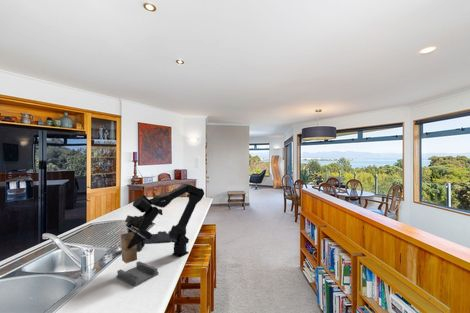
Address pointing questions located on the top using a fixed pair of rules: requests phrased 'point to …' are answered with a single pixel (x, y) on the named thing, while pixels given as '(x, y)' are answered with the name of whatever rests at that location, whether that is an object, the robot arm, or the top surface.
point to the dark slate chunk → (159, 238)
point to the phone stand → (140, 245)
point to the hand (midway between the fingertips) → (126, 246)
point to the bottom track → (137, 274)
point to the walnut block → (127, 254)
